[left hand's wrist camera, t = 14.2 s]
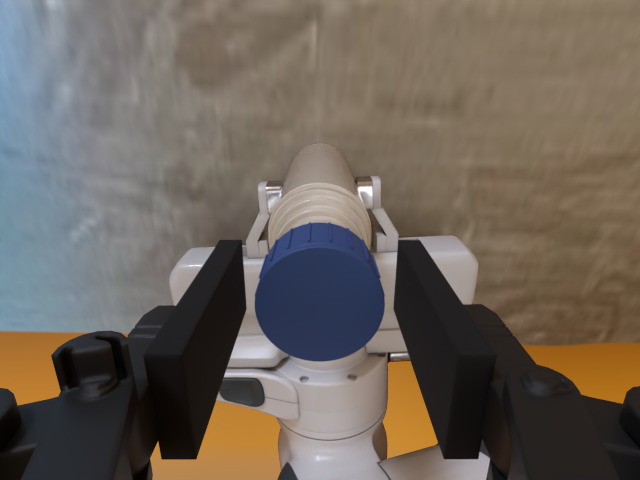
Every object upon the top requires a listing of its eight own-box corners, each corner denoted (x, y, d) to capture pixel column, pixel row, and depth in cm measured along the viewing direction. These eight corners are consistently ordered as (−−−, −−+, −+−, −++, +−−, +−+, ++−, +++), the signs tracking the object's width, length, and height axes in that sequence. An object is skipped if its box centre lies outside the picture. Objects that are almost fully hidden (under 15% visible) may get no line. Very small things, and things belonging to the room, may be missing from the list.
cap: (261, 319, 15) (250, 359, 13) (264, 215, 14) (254, 240, 12) (368, 327, 15) (376, 367, 13) (383, 224, 14) (395, 250, 12)
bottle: (288, 200, 33) (241, 360, 13) (291, 140, 31) (244, 222, 12) (346, 205, 33) (384, 369, 14) (352, 145, 32) (407, 235, 12)
